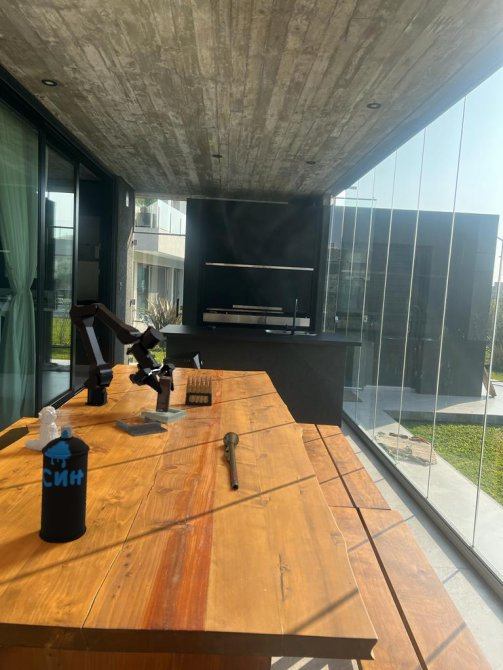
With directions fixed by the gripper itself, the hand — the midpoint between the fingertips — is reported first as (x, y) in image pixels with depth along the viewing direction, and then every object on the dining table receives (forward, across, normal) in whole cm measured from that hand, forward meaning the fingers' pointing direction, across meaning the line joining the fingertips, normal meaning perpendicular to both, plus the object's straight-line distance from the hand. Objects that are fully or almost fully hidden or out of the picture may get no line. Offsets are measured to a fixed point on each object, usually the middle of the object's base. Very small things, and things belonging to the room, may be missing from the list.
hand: (167, 392), depth 173 cm
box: (+4, 0, -6) cm, 7 cm away
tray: (+6, 0, -7) cm, 9 cm away
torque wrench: (+36, +27, +22) cm, 50 cm away
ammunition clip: (+6, -25, -8) cm, 27 cm away
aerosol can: (+29, +78, +16) cm, 85 cm away
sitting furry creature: (+2, +47, -11) cm, 48 cm away
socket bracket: (+8, +16, -5) cm, 19 cm away
